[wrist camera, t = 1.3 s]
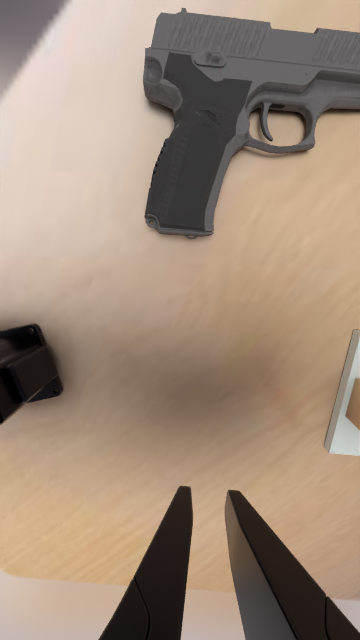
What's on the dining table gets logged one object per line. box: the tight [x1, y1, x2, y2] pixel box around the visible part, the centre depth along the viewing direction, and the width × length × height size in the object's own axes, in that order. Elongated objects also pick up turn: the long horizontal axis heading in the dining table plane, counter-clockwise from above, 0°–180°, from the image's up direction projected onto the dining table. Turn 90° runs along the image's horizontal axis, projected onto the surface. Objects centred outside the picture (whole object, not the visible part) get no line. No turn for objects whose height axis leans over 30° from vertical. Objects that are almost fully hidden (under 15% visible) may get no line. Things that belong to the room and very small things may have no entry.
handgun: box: [143, 8, 360, 239], centre depth 15 cm, size 3×16×12 cm
